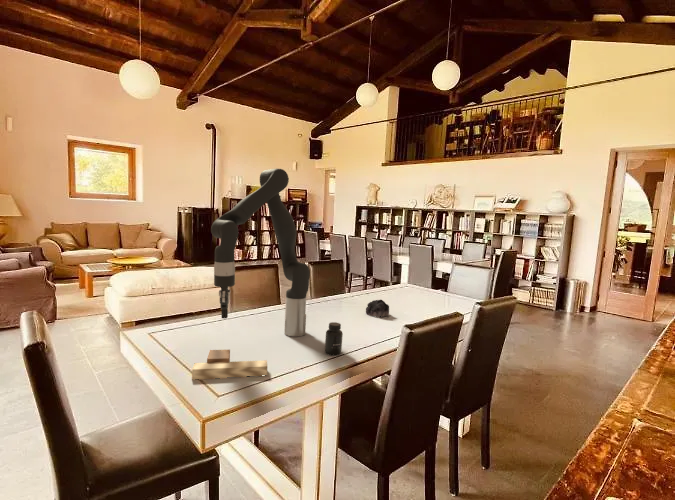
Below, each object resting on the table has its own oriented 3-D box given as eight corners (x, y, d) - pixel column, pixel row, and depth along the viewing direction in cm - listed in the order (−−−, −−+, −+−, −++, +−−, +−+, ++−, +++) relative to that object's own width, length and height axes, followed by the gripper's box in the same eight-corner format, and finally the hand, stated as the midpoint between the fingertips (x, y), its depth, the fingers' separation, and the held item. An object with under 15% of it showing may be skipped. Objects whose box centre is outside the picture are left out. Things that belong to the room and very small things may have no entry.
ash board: (266, 369, 129) (266, 360, 129) (267, 376, 124) (267, 366, 124) (194, 373, 123) (194, 363, 123) (191, 379, 119) (192, 369, 118)
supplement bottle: (335, 357, 143) (337, 327, 142) (321, 353, 147) (322, 324, 146) (344, 352, 149) (346, 323, 148) (330, 348, 153) (332, 320, 152)
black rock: (367, 311, 217) (367, 295, 215) (390, 312, 214) (390, 295, 212) (364, 319, 204) (363, 302, 202) (388, 320, 201) (388, 302, 199)
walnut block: (229, 362, 134) (230, 349, 133) (228, 372, 126) (228, 358, 125) (209, 363, 132) (209, 350, 132) (206, 373, 124) (207, 359, 124)
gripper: (234, 276, 132) (234, 322, 134) (235, 270, 145) (235, 312, 147) (212, 276, 130) (212, 323, 132) (215, 270, 143) (215, 313, 145)
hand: (224, 317), depth 140 cm, fingers closed
